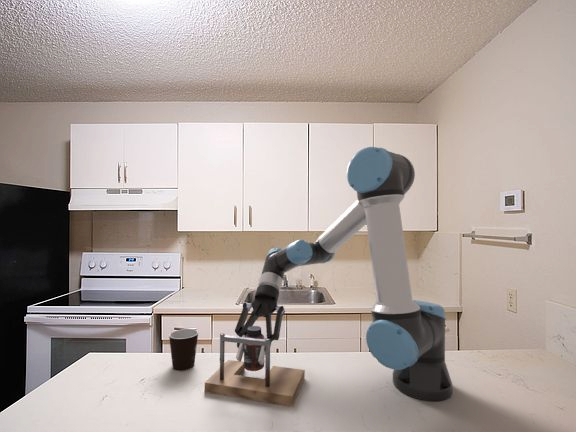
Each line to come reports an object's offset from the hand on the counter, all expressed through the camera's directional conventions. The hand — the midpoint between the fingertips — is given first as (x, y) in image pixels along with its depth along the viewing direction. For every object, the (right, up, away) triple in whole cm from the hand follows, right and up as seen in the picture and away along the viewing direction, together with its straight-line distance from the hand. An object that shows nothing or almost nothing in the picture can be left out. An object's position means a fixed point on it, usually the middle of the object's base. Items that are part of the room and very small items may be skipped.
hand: (249, 361), depth 86 cm
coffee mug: (-21, -7, +12) cm, 25 cm away
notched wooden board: (+2, -6, -1) cm, 7 cm away
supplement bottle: (+1, -4, +4) cm, 5 cm away
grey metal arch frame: (-1, -4, -4) cm, 6 cm away
